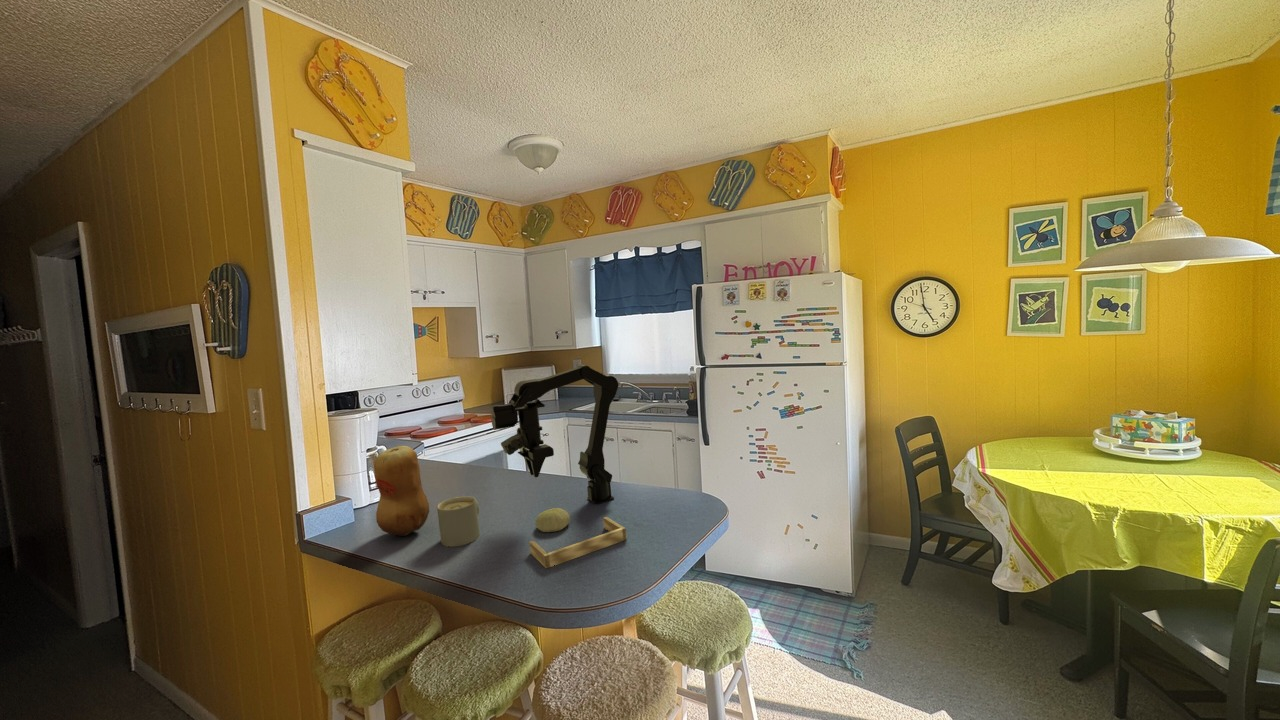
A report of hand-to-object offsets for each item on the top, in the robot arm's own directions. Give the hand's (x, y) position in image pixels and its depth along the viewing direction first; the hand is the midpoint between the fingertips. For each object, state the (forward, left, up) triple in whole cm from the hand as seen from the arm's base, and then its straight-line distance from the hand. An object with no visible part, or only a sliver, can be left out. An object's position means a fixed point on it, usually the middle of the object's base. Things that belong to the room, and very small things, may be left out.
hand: (534, 475), depth 149 cm
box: (0, +27, -12) cm, 30 cm away
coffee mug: (+21, -1, -12) cm, 24 cm away
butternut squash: (+34, -15, -12) cm, 39 cm away
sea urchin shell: (0, +11, -12) cm, 17 cm away
